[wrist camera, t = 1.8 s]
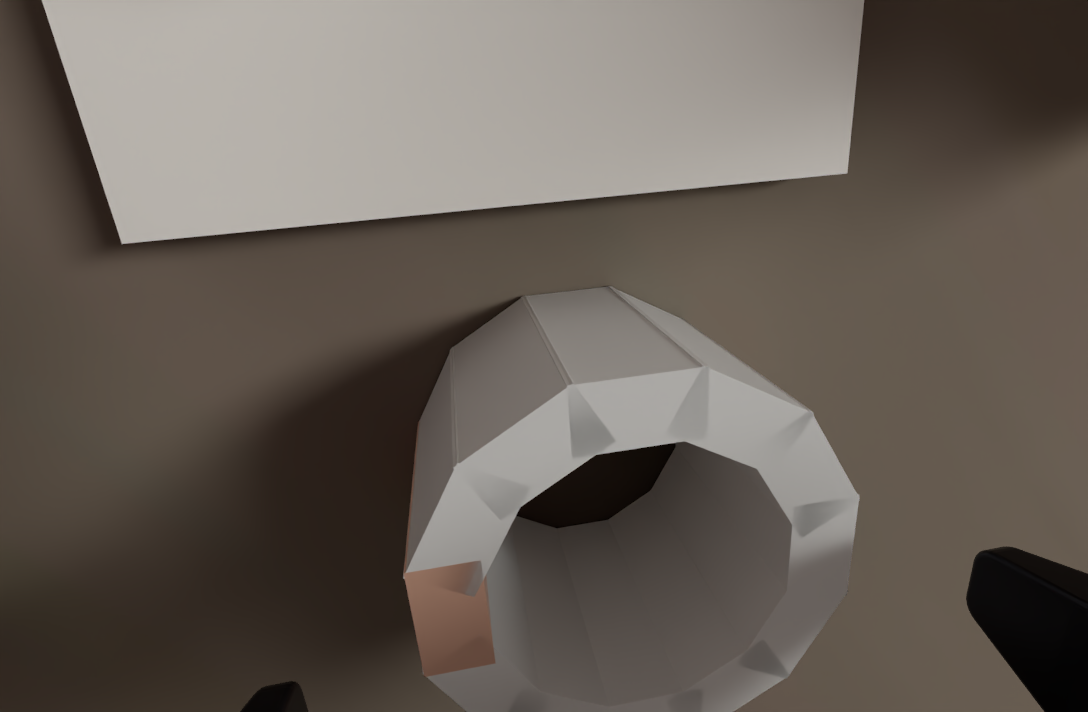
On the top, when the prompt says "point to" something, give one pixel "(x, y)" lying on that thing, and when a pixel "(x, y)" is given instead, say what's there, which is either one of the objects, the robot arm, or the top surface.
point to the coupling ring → (618, 518)
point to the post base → (445, 103)
